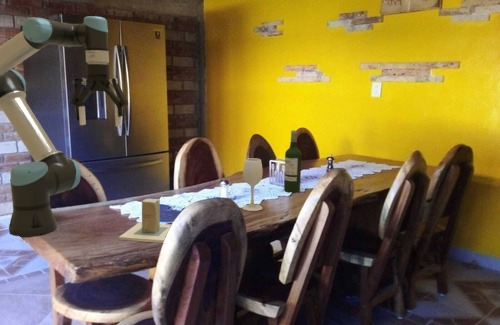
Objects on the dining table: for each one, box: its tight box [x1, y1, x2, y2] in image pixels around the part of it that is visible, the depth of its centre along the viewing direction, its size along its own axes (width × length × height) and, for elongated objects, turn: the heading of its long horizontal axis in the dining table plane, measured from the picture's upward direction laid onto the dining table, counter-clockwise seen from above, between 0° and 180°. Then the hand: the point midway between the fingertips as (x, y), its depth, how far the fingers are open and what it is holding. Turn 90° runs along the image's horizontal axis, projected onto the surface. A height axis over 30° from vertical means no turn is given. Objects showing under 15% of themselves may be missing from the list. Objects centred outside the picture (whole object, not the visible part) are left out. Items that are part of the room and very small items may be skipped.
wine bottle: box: [283, 130, 302, 194], centre depth 214 cm, size 8×8×30 cm
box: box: [141, 198, 161, 233], centre depth 151 cm, size 5×4×11 cm
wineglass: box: [241, 157, 263, 212], centre depth 184 cm, size 9×9×21 cm
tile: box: [118, 221, 172, 244], centre depth 153 cm, size 16×16×1 cm
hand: (100, 125), depth 155 cm, fingers open, 13 cm apart
